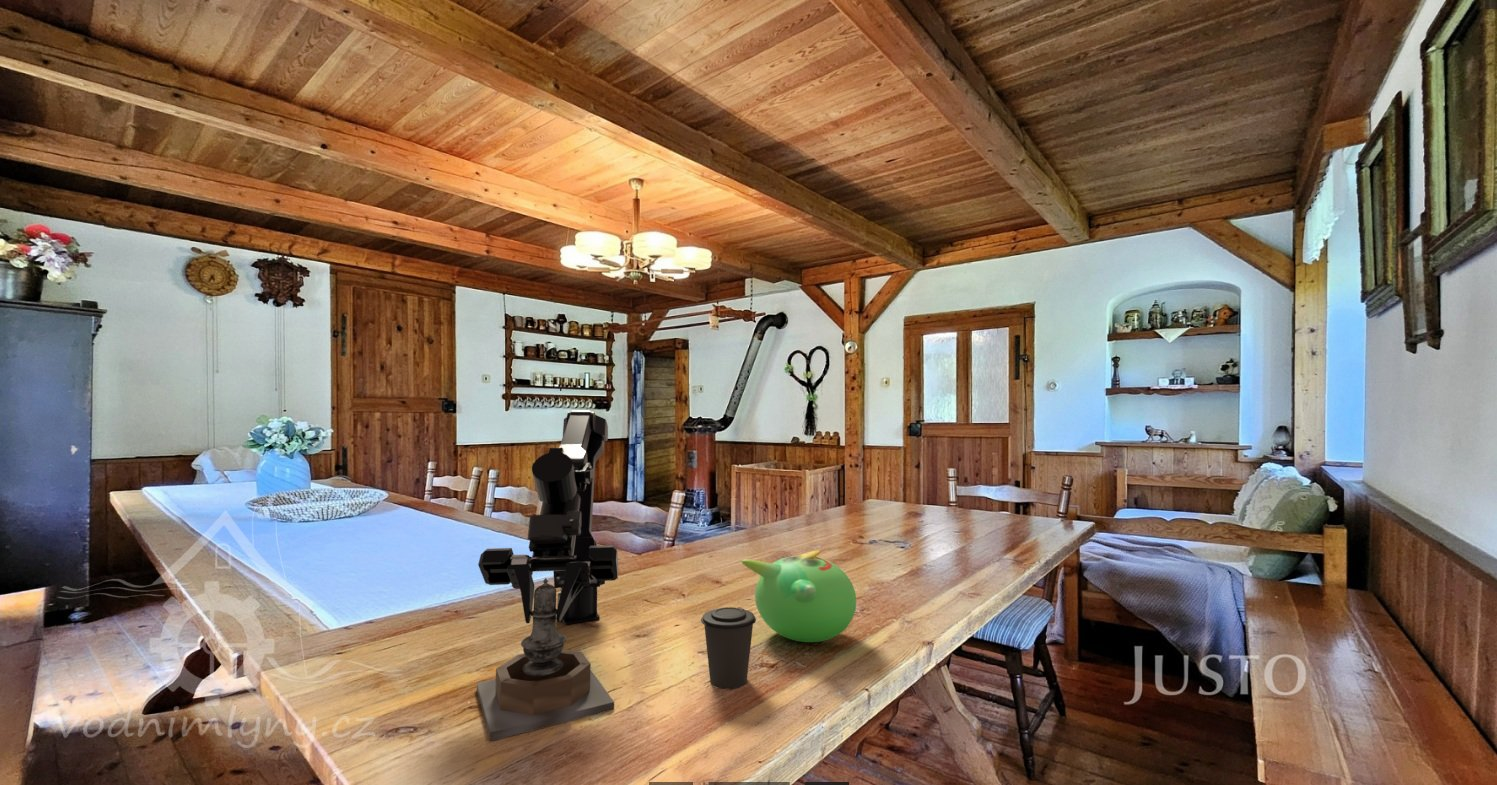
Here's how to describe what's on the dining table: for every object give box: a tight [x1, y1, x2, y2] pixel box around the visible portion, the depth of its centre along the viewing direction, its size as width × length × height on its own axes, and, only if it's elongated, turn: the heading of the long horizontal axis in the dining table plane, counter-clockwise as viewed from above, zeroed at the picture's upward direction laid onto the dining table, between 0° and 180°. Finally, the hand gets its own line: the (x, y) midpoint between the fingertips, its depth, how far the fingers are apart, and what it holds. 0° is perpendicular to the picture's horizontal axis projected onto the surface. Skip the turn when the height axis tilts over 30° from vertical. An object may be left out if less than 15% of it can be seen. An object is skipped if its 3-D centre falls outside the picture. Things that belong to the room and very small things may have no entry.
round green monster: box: [741, 549, 857, 643], centre depth 103 cm, size 18×17×15 cm
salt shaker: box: [520, 577, 567, 676], centre depth 81 cm, size 6×6×12 cm
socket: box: [476, 648, 615, 742], centre depth 80 cm, size 15×15×4 cm
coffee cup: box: [700, 606, 757, 690], centre depth 86 cm, size 8×8×10 cm
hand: (542, 621), depth 79 cm, fingers closed on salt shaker, 4 cm apart
